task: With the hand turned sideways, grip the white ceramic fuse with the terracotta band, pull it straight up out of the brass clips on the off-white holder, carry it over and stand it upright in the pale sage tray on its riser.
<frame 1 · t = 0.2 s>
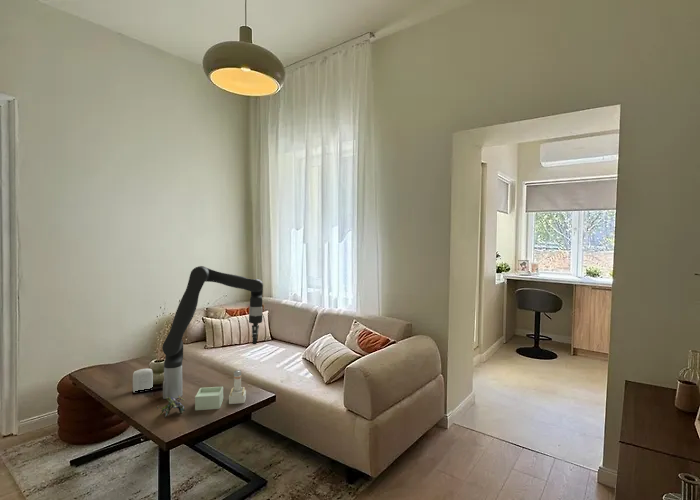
hand: (254, 342, 219), 29 cm above the table, tool pointing down, fingers open, 8 cm apart
photo printer: (142, 390, 221), on the table
passion flower: (172, 415, 190), on the table
tray: (209, 404, 203), on the table
fuse: (237, 393, 208), point 4 cm above the table, touching fuse holder
fuse holder: (237, 400, 208), on the table
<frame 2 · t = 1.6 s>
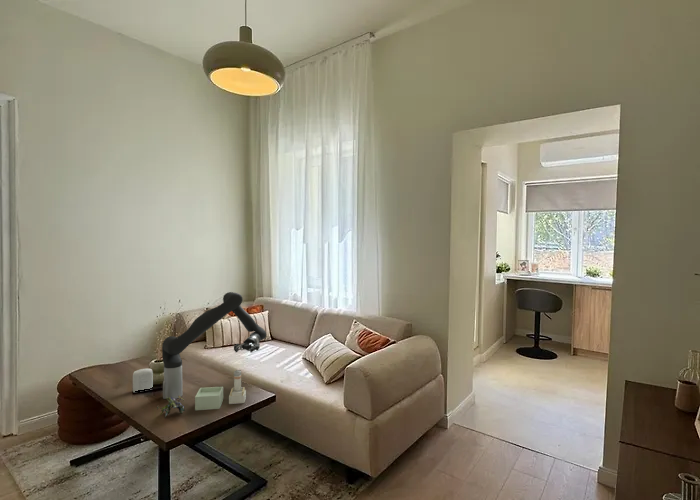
hand: (243, 350, 218), 24 cm above the table, tool horizontal, fingers open, 8 cm apart
nothing on the table moved.
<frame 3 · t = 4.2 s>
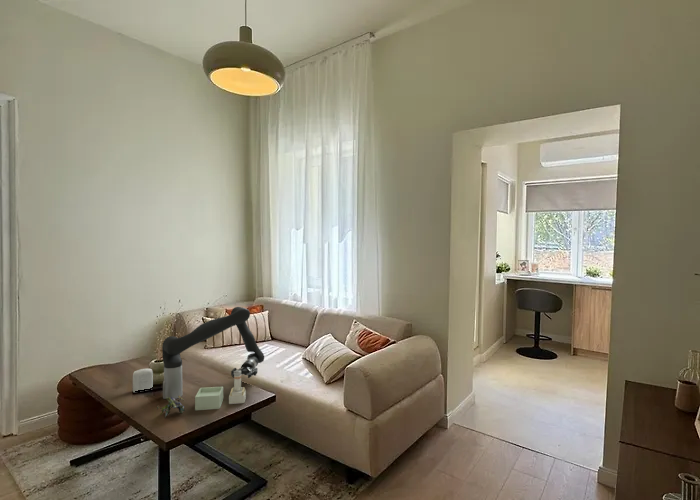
hand: (241, 376, 214), 11 cm above the table, tool horizontal, fingers open, 8 cm apart
nothing on the table moved.
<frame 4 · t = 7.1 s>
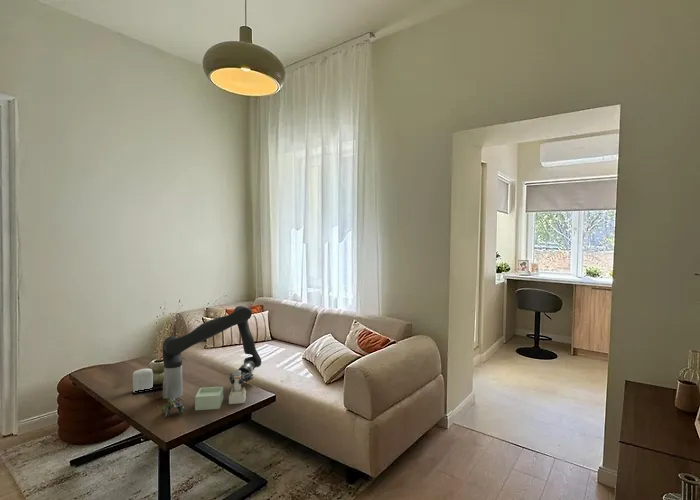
hand: (236, 382, 205), 11 cm above the table, tool horizontal, fingers closed on fuse, 3 cm apart
fuse: (237, 393, 208), point 4 cm above the table, touching fuse holder, gripper
everything else where it was.
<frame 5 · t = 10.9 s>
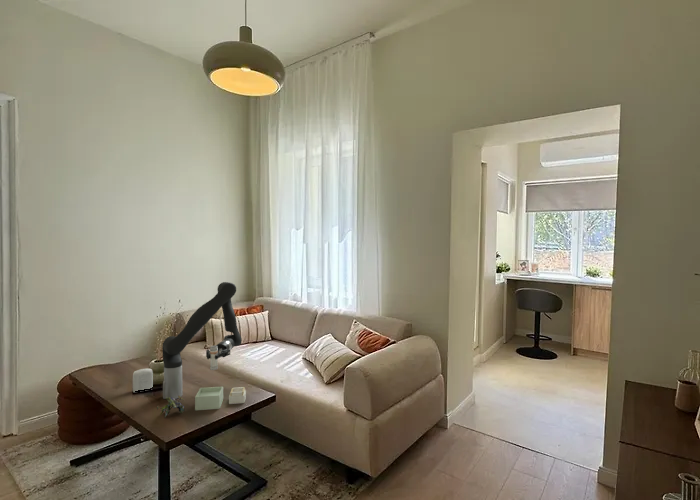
hand: (211, 357, 200), 26 cm above the table, tool horizontal, fingers closed on fuse, 3 cm apart
fuse: (213, 368, 203), point 19 cm above the table, touching gripper
everything else where it was.
when the fingers open (13 cm above the table, at t = 14.4 s): fuse stays where it is, resting on tray.
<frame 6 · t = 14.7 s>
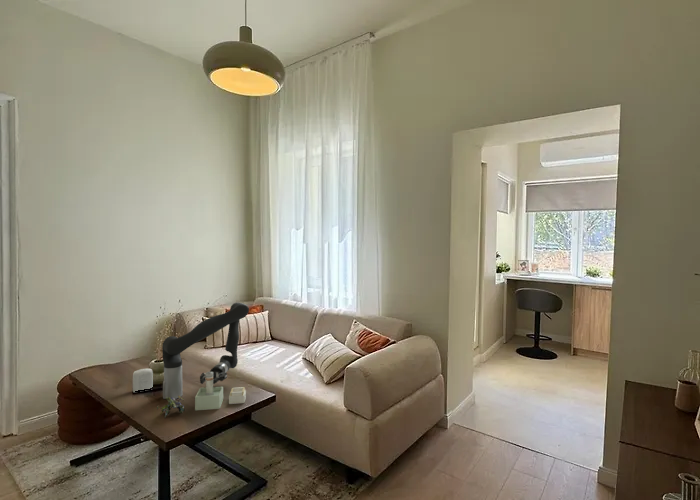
hand: (207, 382, 200), 13 cm above the table, tool horizontal, fingers open, 6 cm apart
fuse: (209, 395, 203), point 5 cm above the table, touching tray
everything else where it was.
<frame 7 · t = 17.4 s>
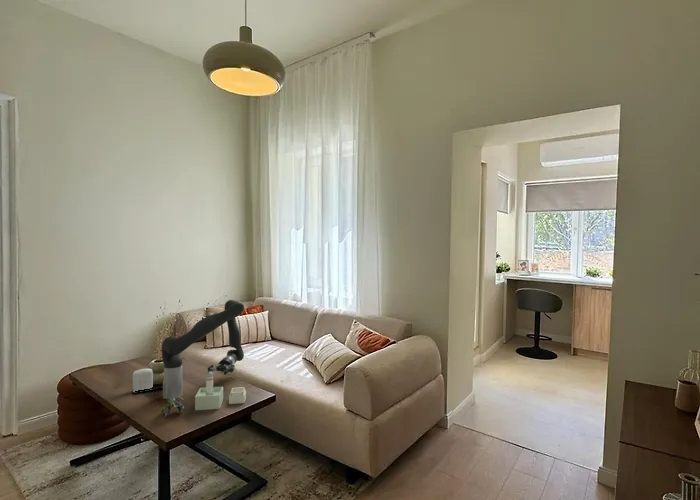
hand: (216, 373, 213), 13 cm above the table, tool horizontal, fingers open, 8 cm apart
nothing on the table moved.
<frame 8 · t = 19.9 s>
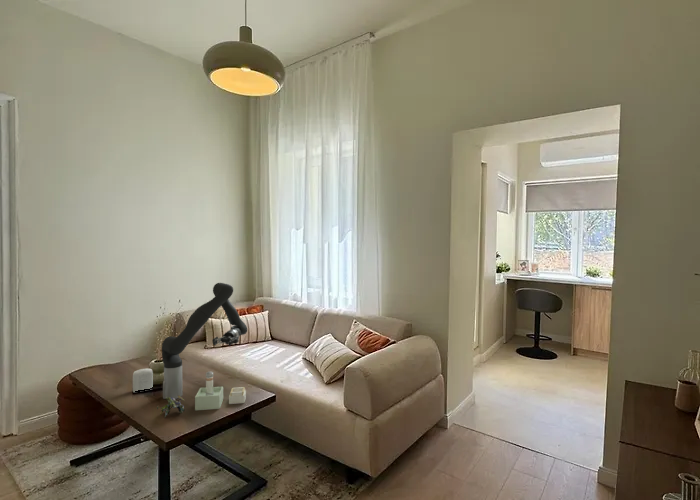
hand: (221, 343, 218), 28 cm above the table, tool horizontal, fingers open, 8 cm apart
nothing on the table moved.
at the end: fuse inside the target area on the tray (0.1 cm from its centre), point 5.0 cm above the tray's base; fuse tilted 0°; the gripper is holding nothing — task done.
